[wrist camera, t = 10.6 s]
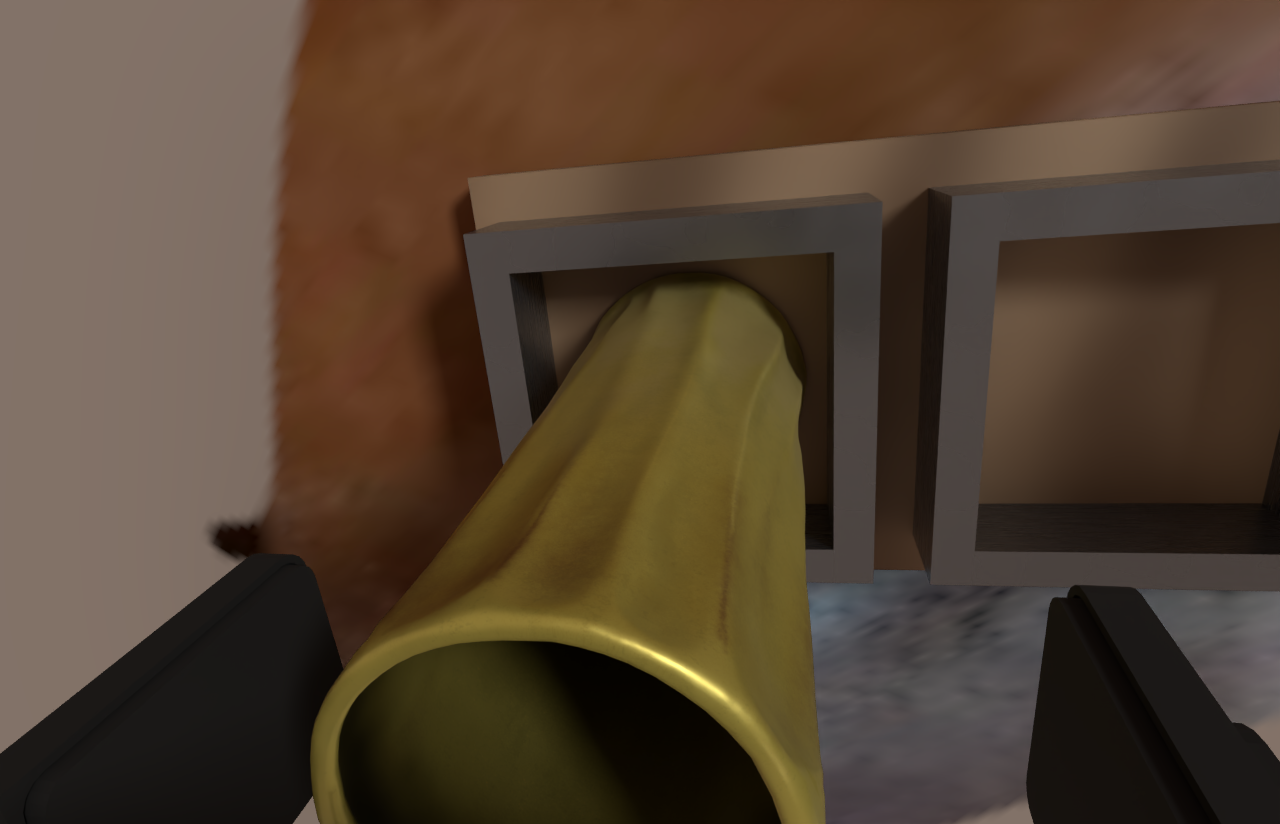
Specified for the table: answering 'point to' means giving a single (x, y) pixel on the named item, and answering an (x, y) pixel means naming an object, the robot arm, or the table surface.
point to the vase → (609, 602)
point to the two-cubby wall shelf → (949, 373)
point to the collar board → (995, 307)
